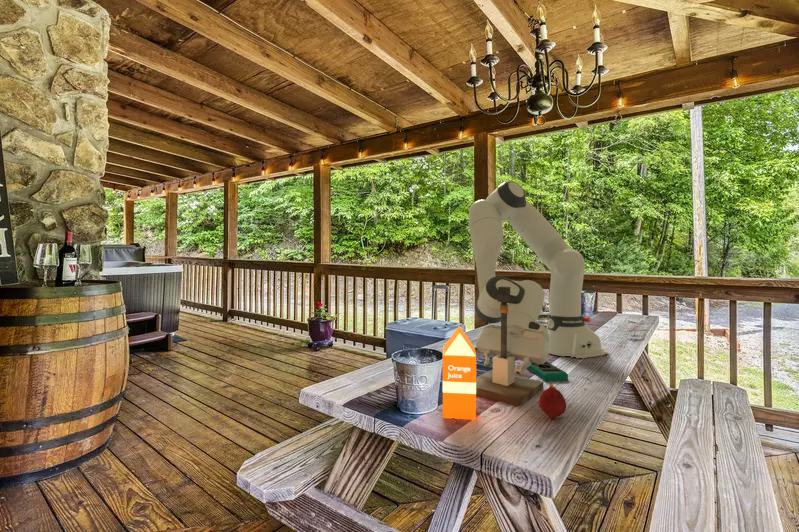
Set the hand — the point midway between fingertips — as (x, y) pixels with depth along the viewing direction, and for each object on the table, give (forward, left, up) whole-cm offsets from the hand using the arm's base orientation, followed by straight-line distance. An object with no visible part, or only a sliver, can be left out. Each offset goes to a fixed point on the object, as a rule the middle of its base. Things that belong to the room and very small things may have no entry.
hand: (502, 369), depth 104 cm
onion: (-3, +19, -6) cm, 20 cm away
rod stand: (-1, 0, -6) cm, 6 cm away
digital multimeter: (-20, -10, -6) cm, 23 cm away
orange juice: (+16, +10, -6) cm, 20 cm away
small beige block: (-1, 0, -4) cm, 4 cm away
